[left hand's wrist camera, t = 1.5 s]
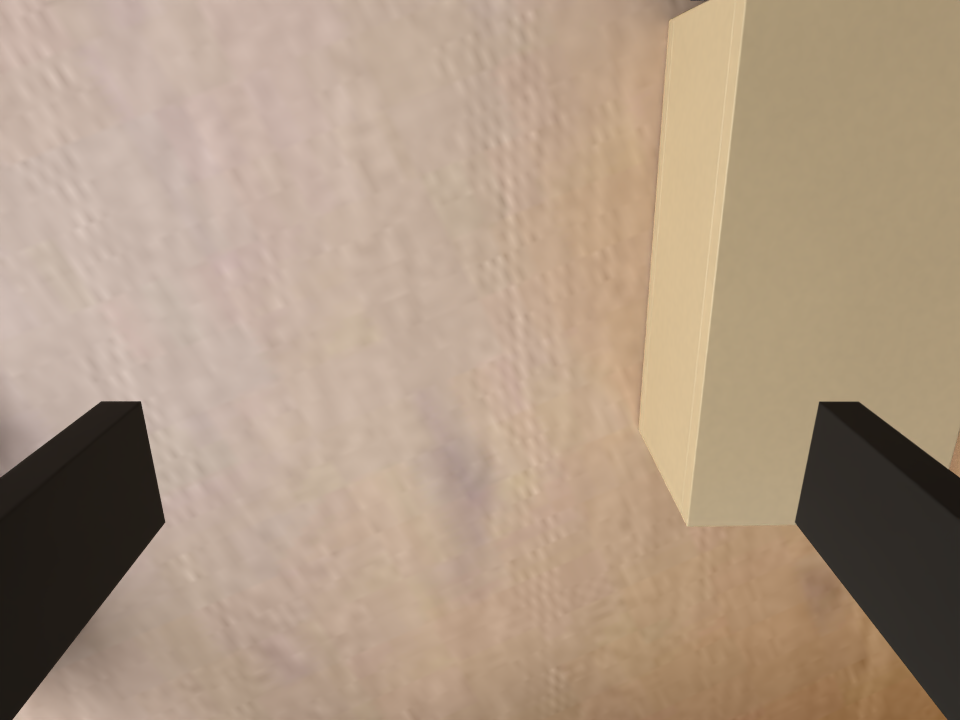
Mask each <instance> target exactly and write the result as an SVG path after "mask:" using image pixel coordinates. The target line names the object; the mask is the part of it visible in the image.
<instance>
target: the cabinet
mask: <svg viewBox="0 0 960 720" xmlns="http://www.w3.org/2000/svg"><path fill="white" fill-rule="evenodd" d="M819 401H859V402H860V403H861V404H863V405H864V406H865V407H867V408H868V409H869V410H871V411H872V412H873V413H875V414H876V415H877V416H879V417H880V418H881V419H883V420H884V421H885V422H887V423H888V424H889V425H891V426H892V427H893V428H894V429H896V430H897V431H898V432H900V433H901V434H902V435H904V436H905V437H906V438H908V439H909V440H910V441H912V442H913V443H914V444H916V445H917V446H918V447H920V448H921V449H922V450H924V451H925V452H926V453H928V454H929V455H930V456H932V457H933V458H934V459H936V460H937V461H938V462H940V463H941V464H942V465H943V466H945V467H946V468H947V469H949V468H950V464H951V460H952V457H953V453H954V449H955V445H956V442H957V438H958V434H959V431H960V0H708V1H706V2H704V3H702V4H700V5H698V6H696V7H694V8H692V9H690V10H688V11H686V12H684V13H682V14H681V15H679V16H677V17H675V18H673V19H671V20H669V28H668V41H667V55H666V68H665V81H664V95H663V108H662V121H661V135H660V148H659V161H658V175H657V188H656V201H655V215H654V228H653V241H652V255H651V268H650V281H649V295H648V308H647V321H646V335H645V348H644V361H643V375H642V388H641V401H640V415H639V428H638V430H639V432H640V434H641V436H642V438H643V440H644V442H645V444H646V446H647V448H648V450H649V452H650V454H651V456H652V458H653V460H654V462H655V464H656V466H657V468H658V470H659V472H660V473H661V475H662V477H663V479H664V481H665V483H666V485H667V487H668V489H669V491H670V493H671V495H672V497H673V499H674V501H675V503H676V505H677V507H678V509H679V511H680V513H681V515H682V517H683V519H684V521H685V523H686V525H687V527H708V526H773V525H796V523H795V519H796V514H797V509H798V504H799V499H800V494H801V489H802V484H803V479H804V474H805V469H806V464H807V459H808V454H809V449H810V444H811V439H812V434H813V429H814V424H815V419H816V415H817V410H818V405H819Z"/></svg>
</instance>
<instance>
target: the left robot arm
mask: <svg viewBox="0 0 960 720" xmlns="http://www.w3.org/2000/svg"><path fill="white" fill-rule="evenodd" d="M164 523H165V519H164V514H163V509H162V504H161V499H160V494H159V489H158V484H157V479H156V474H155V469H154V464H153V459H152V454H151V449H150V444H149V439H148V434H147V429H146V424H145V419H144V415H143V410H142V405H141V401H101V402H100V403H99V404H97V405H96V406H95V407H93V408H92V409H91V410H89V411H88V412H87V413H85V414H84V415H83V416H81V417H80V418H79V419H77V420H76V421H75V422H73V423H72V424H71V425H70V426H68V427H67V428H66V429H64V430H63V431H62V432H60V433H59V434H58V435H56V436H55V437H54V438H52V439H51V440H50V441H48V442H47V443H46V444H44V445H43V446H42V447H40V448H39V449H38V450H36V451H35V452H34V453H32V454H31V455H30V456H28V457H27V458H26V459H24V460H23V461H22V462H20V463H19V464H18V465H17V466H15V467H14V468H13V469H11V470H10V471H9V472H7V473H6V474H5V475H3V476H2V477H1V478H0V720H13V718H14V717H15V716H16V714H17V713H18V712H19V711H20V709H21V708H22V707H23V705H24V704H25V703H26V702H27V700H28V699H29V698H30V696H31V695H32V694H33V692H34V691H35V690H36V689H37V687H38V686H39V685H40V683H41V682H42V681H43V680H44V678H45V677H46V676H47V674H48V673H49V672H50V671H51V669H52V668H53V667H54V665H55V664H56V663H57V661H58V660H59V659H60V658H61V656H62V655H63V654H64V652H65V651H66V650H67V649H68V647H69V646H70V645H71V643H72V642H73V641H74V639H75V638H76V637H77V636H78V634H79V633H80V632H81V630H82V629H83V628H84V627H85V625H86V624H87V623H88V621H89V620H90V619H91V618H92V616H93V615H94V614H95V612H96V611H97V610H98V608H99V607H100V606H101V605H102V603H103V602H104V601H105V599H106V598H107V597H108V596H109V594H110V593H111V592H112V590H113V589H114V588H115V587H116V585H117V584H118V583H119V581H120V580H121V579H122V577H123V576H124V575H125V574H126V572H127V571H128V570H129V568H130V567H131V566H132V565H133V563H134V562H135V561H136V559H137V558H138V557H139V556H140V554H141V553H142V552H143V550H144V549H145V548H146V546H147V545H148V544H149V543H150V541H151V540H152V539H153V537H154V536H155V535H156V534H157V532H158V531H159V530H160V528H161V527H162V526H163V525H164ZM795 523H796V525H797V526H798V527H799V528H800V530H801V531H802V532H803V534H804V535H805V536H806V537H807V539H808V540H809V541H810V543H811V544H812V545H813V546H814V548H815V549H816V550H817V552H818V553H819V554H820V556H821V557H822V558H823V559H824V561H825V562H826V563H827V565H828V566H829V567H830V568H831V570H832V571H833V572H834V574H835V575H836V576H837V577H838V579H839V580H840V581H841V583H842V584H843V585H844V587H845V588H846V589H847V590H848V592H849V593H850V594H851V596H852V597H853V598H854V599H855V601H856V602H857V603H858V605H859V606H860V607H861V608H862V610H863V611H864V612H865V614H866V615H867V616H868V618H869V619H870V620H871V621H872V623H873V624H874V625H875V627H876V628H877V629H878V630H879V632H880V633H881V634H882V636H883V637H884V638H885V639H886V641H887V642H888V643H889V645H890V646H891V647H892V649H893V650H894V651H895V652H896V654H897V655H898V656H899V658H900V659H901V660H902V661H903V663H904V664H905V665H906V667H907V668H908V669H909V671H910V672H911V673H912V674H913V676H914V677H915V678H916V680H917V681H918V682H919V683H920V685H921V686H922V687H923V689H924V690H925V691H926V692H927V694H928V695H929V696H930V698H931V699H932V700H933V702H934V703H935V704H936V705H937V707H938V708H939V709H940V711H941V712H942V713H943V714H944V716H945V717H946V718H947V720H960V478H959V477H958V476H957V475H955V474H954V473H953V472H951V471H950V470H949V469H947V468H946V467H945V466H943V465H942V464H941V463H940V462H938V461H937V460H936V459H934V458H933V457H932V456H930V455H929V454H928V453H926V452H925V451H924V450H922V449H921V448H920V447H918V446H917V445H916V444H914V443H913V442H912V441H910V440H909V439H908V438H906V437H905V436H904V435H902V434H901V433H900V432H898V431H897V430H896V429H894V428H893V427H892V426H891V425H889V424H888V423H887V422H885V421H884V420H883V419H881V418H880V417H879V416H877V415H876V414H875V413H873V412H872V411H871V410H869V409H868V408H867V407H865V406H864V405H863V404H861V403H860V402H859V401H819V405H818V410H817V415H816V419H815V424H814V429H813V434H812V439H811V444H810V449H809V454H808V459H807V464H806V469H805V474H804V479H803V484H802V489H801V494H800V499H799V504H798V509H797V514H796V519H795Z"/></svg>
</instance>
